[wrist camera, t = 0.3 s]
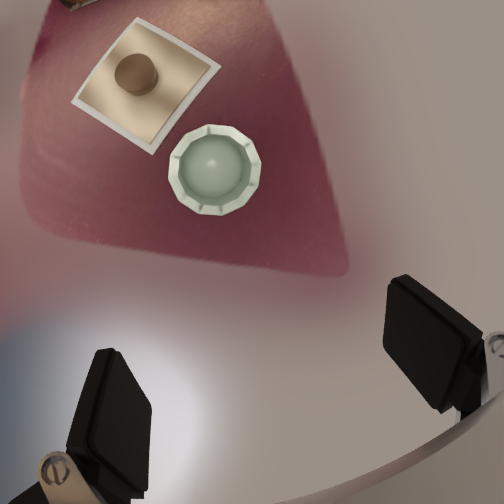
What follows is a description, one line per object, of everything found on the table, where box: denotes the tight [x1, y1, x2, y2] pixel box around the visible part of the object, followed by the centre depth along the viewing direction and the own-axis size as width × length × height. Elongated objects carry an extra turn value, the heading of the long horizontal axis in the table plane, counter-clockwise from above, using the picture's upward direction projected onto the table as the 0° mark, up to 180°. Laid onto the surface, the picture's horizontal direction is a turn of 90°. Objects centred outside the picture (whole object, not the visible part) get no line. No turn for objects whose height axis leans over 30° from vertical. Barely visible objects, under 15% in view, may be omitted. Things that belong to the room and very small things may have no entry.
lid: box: [78, 23, 210, 144], centre depth 27 cm, size 12×12×5 cm
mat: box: [71, 17, 222, 155], centre depth 29 cm, size 14×14×1 cm
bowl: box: [168, 124, 261, 216], centre depth 32 cm, size 10×10×6 cm
